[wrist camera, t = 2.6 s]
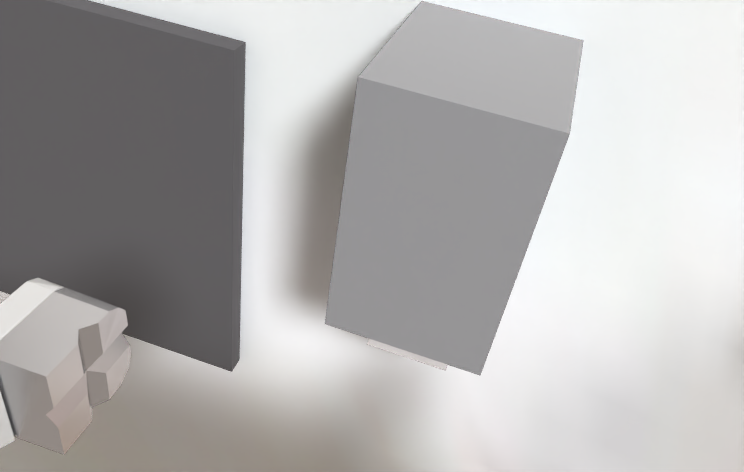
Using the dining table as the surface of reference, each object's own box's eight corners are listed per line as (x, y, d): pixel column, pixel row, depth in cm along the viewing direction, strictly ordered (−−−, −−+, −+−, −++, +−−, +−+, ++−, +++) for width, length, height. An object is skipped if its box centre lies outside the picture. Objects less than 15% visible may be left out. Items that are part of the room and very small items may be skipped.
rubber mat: (-152, -63, 18) (-172, -59, 18) (245, 42, 16) (234, 50, 16) (-43, 262, 26) (-55, 271, 25) (239, 359, 24) (231, 371, 23)
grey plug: (423, -1, 15) (358, 76, 11) (583, 39, 14) (569, 133, 10) (371, 277, 20) (315, 390, 16) (487, 314, 19) (456, 440, 16)
